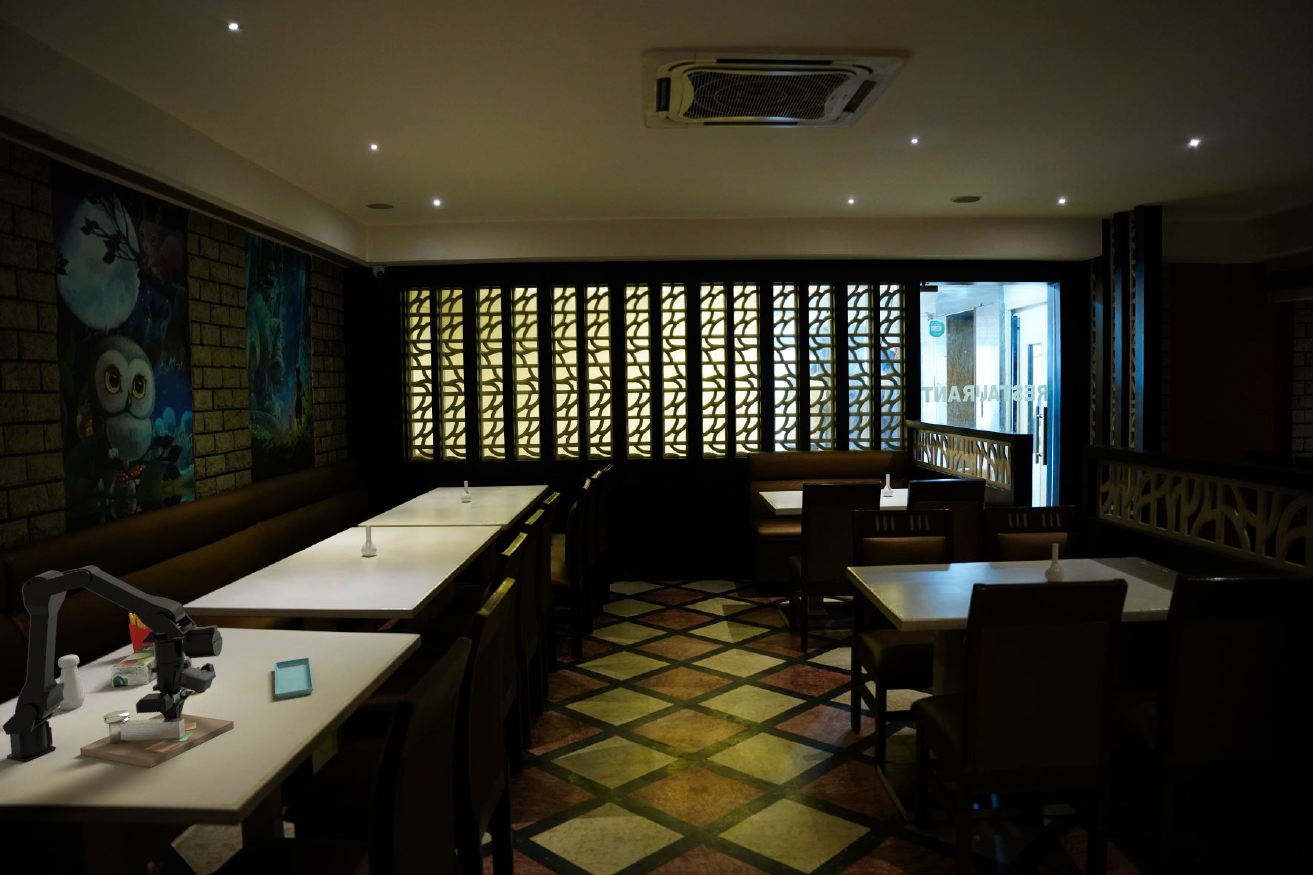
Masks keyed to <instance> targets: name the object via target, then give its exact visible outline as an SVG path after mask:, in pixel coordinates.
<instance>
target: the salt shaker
mask: <svg viewBox="0 0 1313 875" xmlns="http://www.w3.org/2000/svg"><path fill="white" fill-rule="evenodd" d="M79 663H80V659H79V656H78V655H76V654H67V655H64V656H62V657H59V659H58V660H57V664H58V667H59V668H60V669H61V670H60V679H59V683H64V689H63V697H64V700H63V701H61V702H60V705H59V707H60V709H61V710H62V711H71V710H75V709H78V708H80V707H82V706H83V704H84V701H85V698H86V693H85V691H84V687H83V684H82V679H81V676H80V673H79V670H78V665H79Z"/></svg>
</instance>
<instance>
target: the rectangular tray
mask: <svg viewBox="0 0 1313 875" xmlns="http://www.w3.org/2000/svg"><path fill="white" fill-rule="evenodd" d="M314 688H315V687H314V681H313V673H312V668H311V658H310V657H302V658H295V659H289V660H283V661H277V662H276V661H275V662H274V694H275V696H276V698H277V699H278V700H281V699H286V698H287V699H288V698H292V697H298V696H306V695H310V694H312V693H313V691H314Z"/></svg>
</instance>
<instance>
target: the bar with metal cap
mask: <svg viewBox="0 0 1313 875" xmlns="http://www.w3.org/2000/svg"><path fill="white" fill-rule="evenodd" d="M130 718H131V711H130V710H127V709H119V710H115V711H112V712H108V713H106V714H104V716H103V723H104V725H108V736H109V737H110V743H118V742H122V741H124V740H135V739H165V738H181V737H182V736H183V735H185V727H184V718H179V719H150V718H148V719H149V720H148V719H130Z"/></svg>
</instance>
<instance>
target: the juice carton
mask: <svg viewBox="0 0 1313 875" xmlns="http://www.w3.org/2000/svg"><path fill="white" fill-rule="evenodd" d="M154 666H155V655H154V645H144V646H143V647H142V648H140V649H139V650H137V651H135V652H134V651H133V652H132V653H131V654H130V655H128V656H127V657H125V658H123V660H121V661H119V662H118V663H116V664H115V665H113V666H112V667H111V668H110V671H111V673H110V674H111V677H112V678H111V681H110V682H111V687H116V686H121V685H123V686H138V685H139V686H140V685H149V684H150V683H152V681H154V680H156V673H152V672H151V668H153V667H154Z"/></svg>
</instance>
